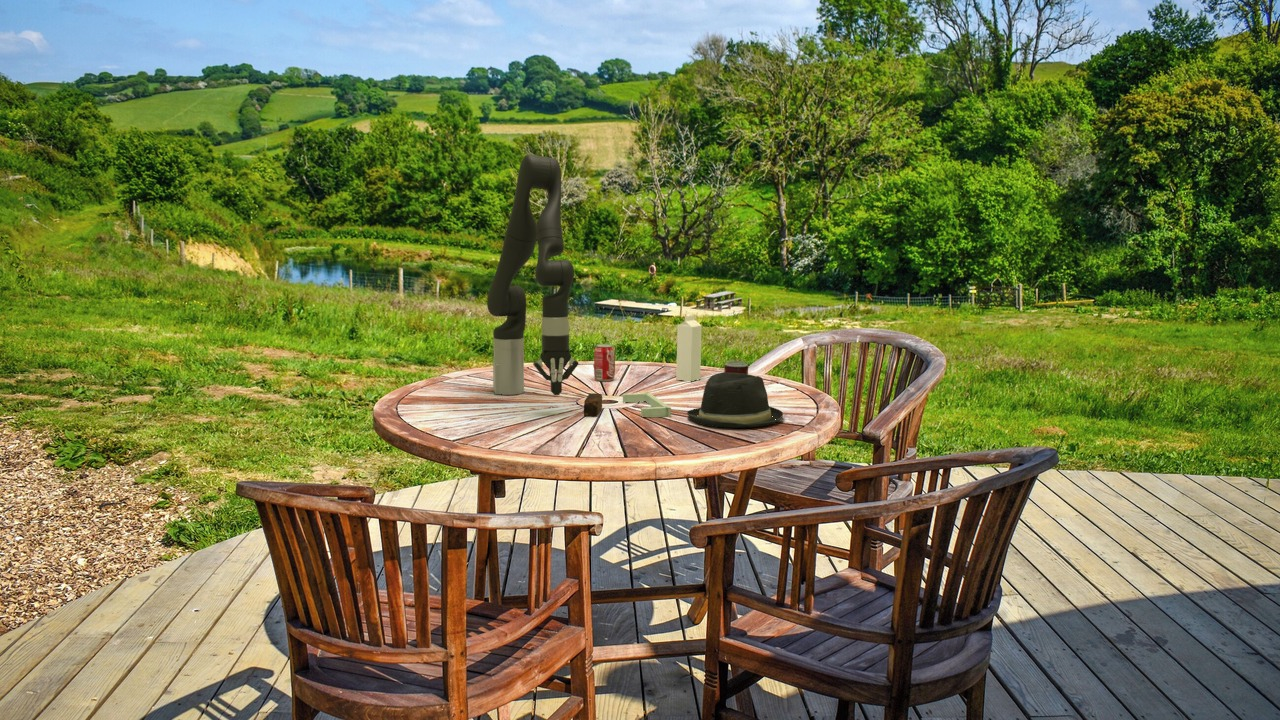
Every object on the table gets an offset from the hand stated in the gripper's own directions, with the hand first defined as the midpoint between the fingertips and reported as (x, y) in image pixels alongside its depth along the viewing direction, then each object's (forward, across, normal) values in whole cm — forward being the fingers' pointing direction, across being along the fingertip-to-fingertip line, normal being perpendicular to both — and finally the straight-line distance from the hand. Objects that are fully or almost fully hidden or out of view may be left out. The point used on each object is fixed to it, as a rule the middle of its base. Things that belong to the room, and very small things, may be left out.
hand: (556, 394), depth 239 cm
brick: (+6, -10, +1) cm, 12 cm away
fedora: (+6, -47, +17) cm, 50 cm away
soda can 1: (+5, -26, -46) cm, 53 cm away
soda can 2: (+6, -55, -3) cm, 55 cm away
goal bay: (+6, -26, 0) cm, 27 cm away
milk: (+6, -53, -40) cm, 67 cm away
